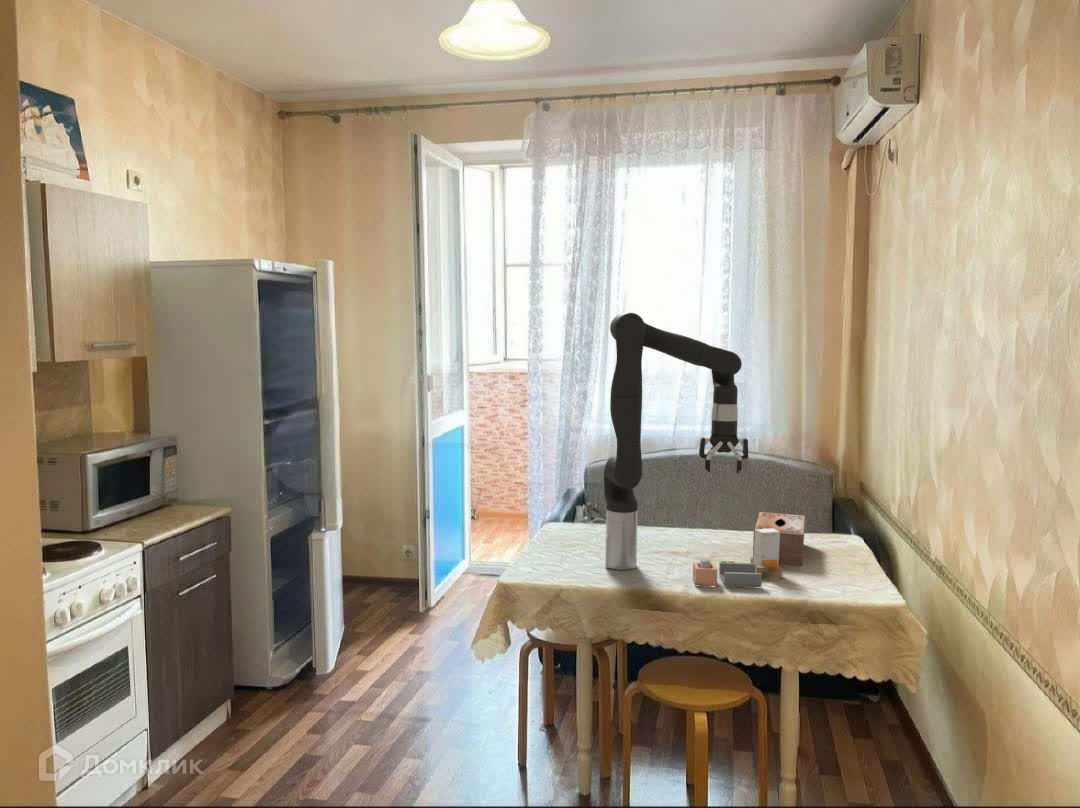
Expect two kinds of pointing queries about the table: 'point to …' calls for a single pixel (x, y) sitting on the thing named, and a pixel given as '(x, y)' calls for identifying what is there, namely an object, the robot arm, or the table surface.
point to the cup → (705, 573)
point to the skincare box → (766, 547)
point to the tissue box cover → (785, 535)
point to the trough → (768, 571)
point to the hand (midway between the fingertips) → (722, 472)
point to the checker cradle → (739, 574)
